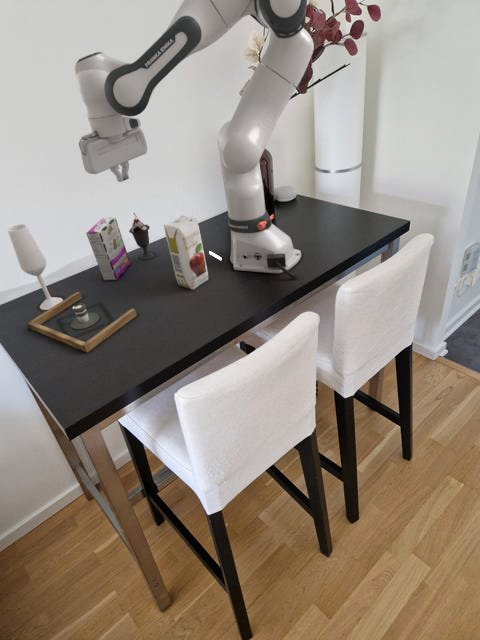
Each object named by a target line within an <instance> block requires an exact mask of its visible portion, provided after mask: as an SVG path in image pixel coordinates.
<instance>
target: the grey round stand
mask: <svg viewBox="0 0 480 640" xmlns="http://www.w3.org/2000/svg"><path fill="white" fill-rule="evenodd" d="M72 311H73V313H74V315H75V318H73V319H72V321H71V322H70V327H71V329H73V330H86V329H88V328H90V327H92V326H94V325H96V323H98V322H99V320H100V315H99V313H97V312H88V310H87V306H86V304H85V303H82V302H80V303H77V304H74V305H73V306H72Z"/></svg>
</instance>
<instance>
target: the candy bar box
mask: <svg viewBox="0 0 480 640" xmlns="http://www.w3.org/2000/svg"><path fill="white" fill-rule="evenodd" d="M86 237H87V239H88V242H89V245H90V246H91V250H92V253H93V255H94V258H95V259H96V260H95V261H96V263H97V266H98V269H99V271H100V274H101V276H102V279H103V281H117V280H118V279H119V278H120V277H121V276H122V275H123V274H124V272H125V271H126V269H127V268H128V267H129V266H130V265H131V261H130V258H129V254H128V252H127V249H126V245H125V242H124V239H123V236H122V233H121V230H120V227H119V224H118V221H117V217H103V218H101V219H100V220H99V221H98V222H97V223H95V224H94V225H93V226H92V227H91V228H90V229H89V230H88V231H87V232H86Z"/></svg>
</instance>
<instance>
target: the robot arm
mask: <svg viewBox="0 0 480 640" xmlns="http://www.w3.org/2000/svg"><path fill="white" fill-rule="evenodd" d="M307 7H308V0H183V1H182V3H180V6H179V7H178V9H177V10H176V12H175V14H174V16H173V18H172V20H171V22H170V23H169V25H168V26H167V28H166V29H165V31H164V32H163V33H162V35H161V36H159V37H158V38H157V39H156V41H155V42H154V43H152V44H151V46H149V47H148V49H147V50H145V52H144V53H142V54H141V56H139V57H138V58H137V59H136V60H135V61H133V62H127V61H126V62H125V61H121V60H118V59H116V58H113V57H111V56H109V55H107V54H106V53H104V52H101V51H97V52H94V53H91V54H88V55H85V56H82V57H81V58H79V59H78V60H77V61H76V62H75V65H74V71H75V78H76V82H77V86H78V91H79V94H80V97H81V100H82V102H83V104H84V106H85V107H86V108H85V109H86V117H87V121H88V123H89V127H90V131H91V132H90V133H88V134H83V135H81V136H80V138H79V141H78V147H79V150H80V154H81V160H82V164H83V167H84V171H85V172H87V174H90V175H98V174H100V173H102V172H103V173H104V172H105V171H108V170H110V171H111V172H112V174H113V175H114V176H115V177H116V181H117V182H118V183H122V182H124V181H127V180H129V179H130V176H129V170H130V162H129V161H131V160H134V159H136V158H139V157H141V156H143V155H146V154H147V153H148V145H147V140H146V136H145V133H144V131H143V129H142V128H141V125H142V123H141V120H140V118H138V117H136V116H139V115H140V114H142V113H143V112H144V111H145V110H146V108H147V107H148V104H149V103H150V101H151V99H152V98H153V95H154V92H155V88H156V87H157V86H158V85H159V84H160V82H162V81H163V80H164V79H165V78H166V77H167V76H168V75H169V73H171V72H172V71H173V70H174V69H175V68H176V67H177V66H178V65H179V64H180V63H182V62H183V61H184V60H185V59H187V58H188V57H190V56H192V55H193V54H196V53H198V52H200V51H202V50H204V49H206V48H208V47H209V46H211V45H212V44H214V43H216V42H217V41H218V40H219V39H221V38H222V37H224V36H225V34H227V33H228V32H229V31H230V30H231V29H232V28H233V27H234V26H235V25H236V24H237V23H238V22H240V20H242V19H243V18H245V17H247V16H250V17H251V18H252V19H254V20H255V21H256V22H257V23H258V24H259V25H260V26H262V27H263V28H265V29H268V31H269V40H268V43H267V46H266V50H265V51H264V53H263V55H262V57H261V58H260V60H259V62H258V64H257V66H256V68H255V69H254V71H253V74H252V75H251V77H250V78H249V81H248V83H247V84H246V87H245V88H244V90H243V92H242V95H241V98H240V99H239V102H238V105H237V107H236V109H235V111H234V112H233V115H232V117H231V120H228V121H226V122H225V123H224V124H223V125H222V126H221V127H220V129H219V131H218V133H217V140H216V141H217V149H218V156H219V162H220V169H221V175H222V181H223V188H224V195H225V201H226V207H227V208H226V209H227V225H228V229H229V230H230V231H229V232H230V256H229V261H230V263H231V264H232V265H233V270H235V271H244V272H256V273H266V274H268V273H269V274H282V273H284V274H286V275H287V276H288V277H290V278H292V279H294V280H295V279H297V275H296V274H294V273H292V272H291V271H289V270H290V269H292V268H293V267H294V266H296V265H297V264H298V263H299V261H300V260H301V258H302V252H301V250H300V249H296V248H294V245H293V241H292V239H291V237H290V236H289V235H288V234H287V233H285V232H284V231H283V230H282V229H280V228H278V227H277V226H276V225H275V224H274V223H273V221H272V220H273V219H274V218H275V215H274V213H272V214H271V215H269V212H268V210H267V209H266V203H265V201H266V200H265V191H264V183H263V178H262V172H261V171H262V170H261V165H260V161H261V157H262V155H263V153H264V151H265V149H266V147H267V145H268V143H269V141H270V139H271V136H272V134H273V132H274V130H275V127H276V125H277V123H278V121H279V119H280V117H281V115H282V113H283V111H284V110H285V108H286V106H287V105H288V103H289V101H290V100H291V98H292V97H293V94H294V93H295V91H296V90H297V88H298V86H299V84H300V83H301V80H302V79H303V77H304V75H305V72H306V70H307V68H308V66H309V63H310V61H311V59H312V56H313V53H314V50H315V43H314V40H313V38H312V36H311V34H310V33H309V31H307V29H305V25H306V18H307ZM120 167H121V172H120V171H119V170H120ZM209 255H211V256H213V257H214V258H216V259H218V260H219V261H222V257H221V256H219V255H217V254H216V253H214V252H212V251H210V250H209Z"/></svg>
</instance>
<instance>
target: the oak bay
mask: <svg viewBox="0 0 480 640" xmlns="http://www.w3.org/2000/svg"><path fill="white" fill-rule="evenodd" d="M82 299H83V297H82V295H81V292H80V291H77V292H75V293H73V294H72V295H70V296H68V297H66V298H65V299H63V301H62V302H60V303H59V304H57V305H55V306H54V307H52V308H50V309H49V310H45V311H44V312H42V313H41V314H39V315H38V316H35V318H33V319H31V320H29V321H28V322H27V323H26V324H27V326H28V328H29V329H30V330H31V331H34V332H36V333H39V334H41V335H44V336H46V337H49V338H51V339H54V340H56V341H58V342H61V343H63V344H65V345H68V346H70V347H73V348H74V349H77V350H80V351H81V352H82V351H83V352H85V353H86V354H87V353H89V352H90V351H93V349H95V348H96V347H97V346H99V345H100V344H102V342H104V341H105V340H106V339H107V338H109V337H110V336H112V335H114V333H116V332H117V331H118V330H120V329H121V328H123V327H124V326H125V325H126V324H128V323H129V322H131V321H132V320H133V319H134V318H136V317H137V316H138V314H137V312H136V309H135V308H130V309H129V310H127V312H125V313H124V314H122V315H121V316H120V317H118V318H117V319H115V320H114V321H113V322H111V323H110V324H109V325H107V326H106V327H104V328H103V329H102V330H100V331H99V332H98V333H96V334H95V335H94V336H92V337H91V338H89V339H87V341H86V342H85V341H83V340H81V339H79V338H78V339H77V338H76V337H72V336H70V335H68V334H65V333H63V332H60V331H58V330H55V329H53V328H50V327H47V326H45V325H43V324H44V323H45V322H47V321H49V320H50V319H52V318H53V317H55V316H56V315H59V314H60V313H62V312H63V311H64V310H66V309H68V308H69V307H71V306H72V305H75V303H77V302H78V301H80V300H82Z"/></svg>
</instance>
